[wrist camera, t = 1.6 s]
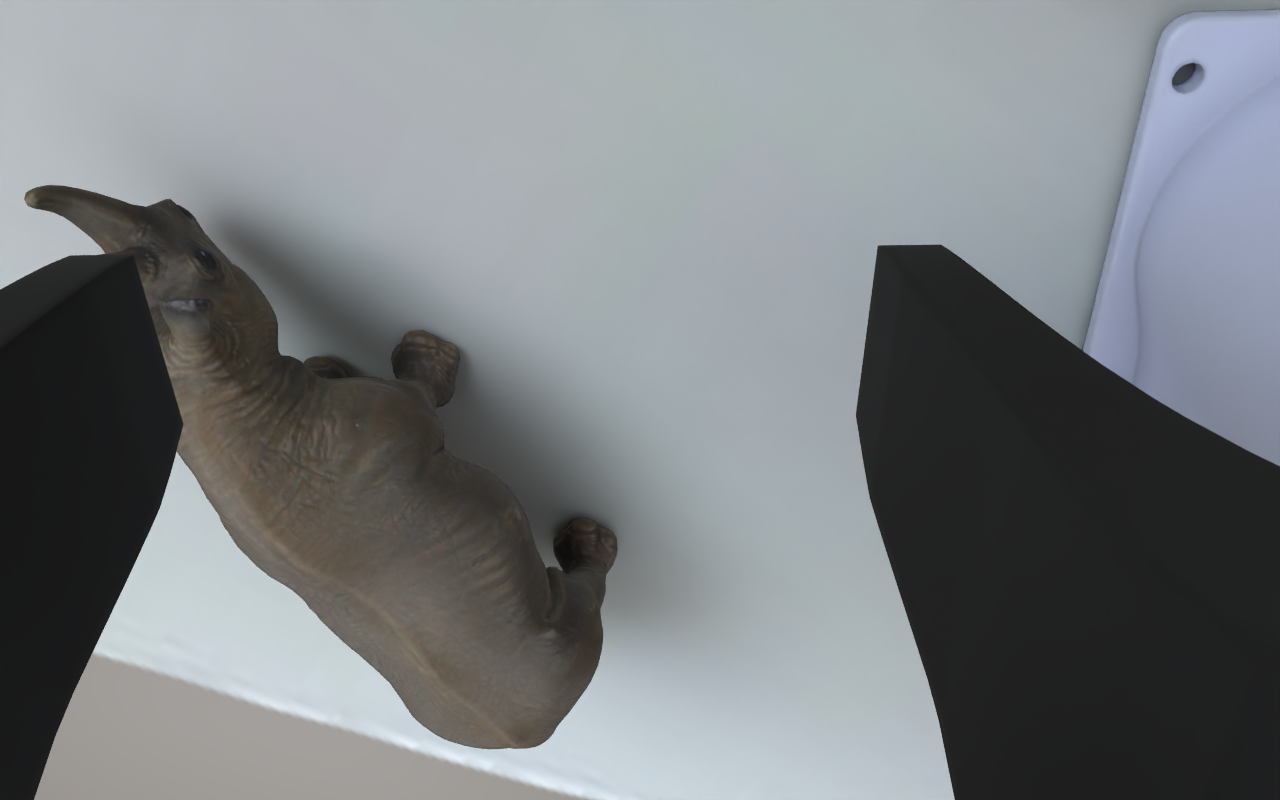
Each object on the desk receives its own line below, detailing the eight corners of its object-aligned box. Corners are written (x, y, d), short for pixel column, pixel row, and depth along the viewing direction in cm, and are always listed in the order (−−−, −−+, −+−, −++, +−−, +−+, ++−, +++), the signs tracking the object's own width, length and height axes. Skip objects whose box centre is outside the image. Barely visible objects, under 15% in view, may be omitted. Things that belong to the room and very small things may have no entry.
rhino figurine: (195, 37, 19) (54, 201, 15) (652, 539, 26) (660, 764, 21) (30, 166, 21) (-150, 357, 16) (507, 613, 28) (484, 841, 23)
